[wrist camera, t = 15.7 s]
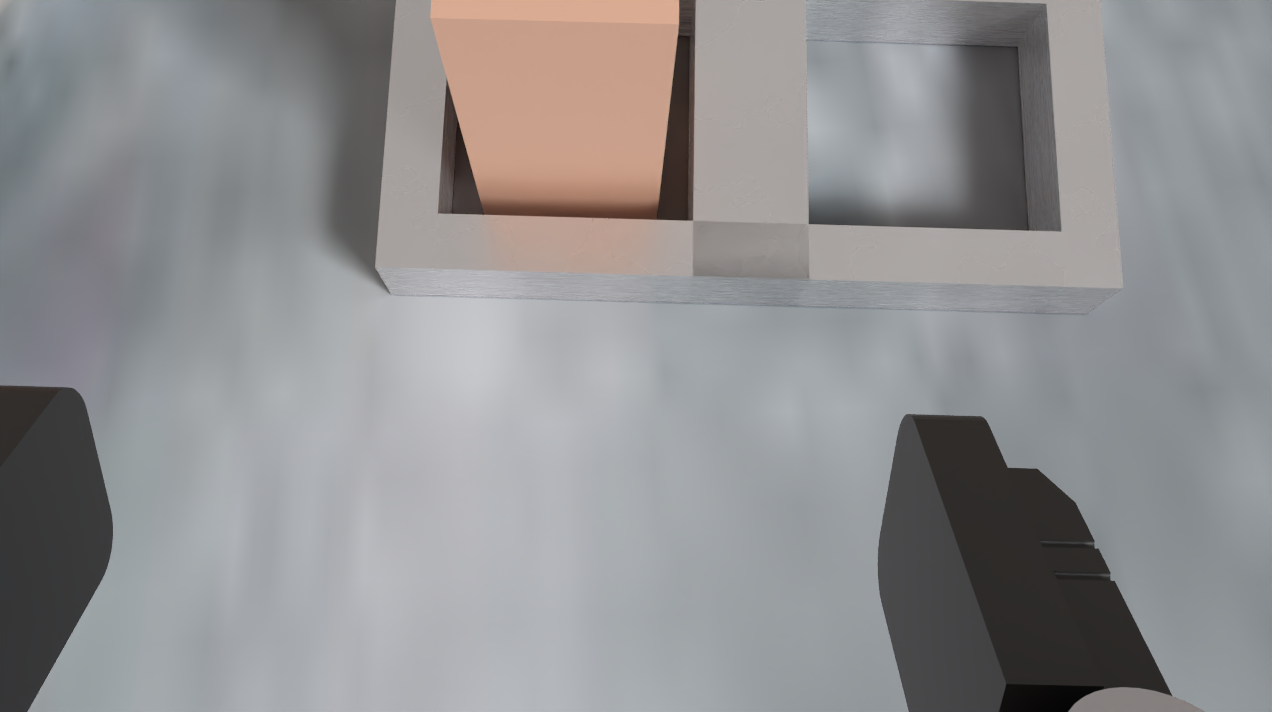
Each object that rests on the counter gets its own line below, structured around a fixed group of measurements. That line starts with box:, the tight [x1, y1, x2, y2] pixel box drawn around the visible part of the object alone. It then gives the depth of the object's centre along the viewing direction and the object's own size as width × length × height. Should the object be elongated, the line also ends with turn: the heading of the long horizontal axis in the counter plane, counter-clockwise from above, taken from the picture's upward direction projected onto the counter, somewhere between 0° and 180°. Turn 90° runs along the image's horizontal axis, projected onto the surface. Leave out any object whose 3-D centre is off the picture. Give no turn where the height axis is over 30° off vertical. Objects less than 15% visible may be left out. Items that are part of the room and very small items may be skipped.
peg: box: [430, 0, 679, 220], centre depth 24 cm, size 4×4×9 cm
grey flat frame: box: [375, 0, 1123, 314], centre depth 28 cm, size 16×8×2 cm, turn 89°
